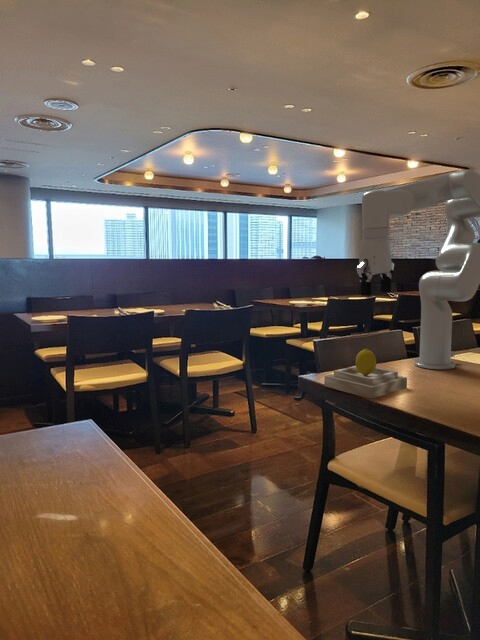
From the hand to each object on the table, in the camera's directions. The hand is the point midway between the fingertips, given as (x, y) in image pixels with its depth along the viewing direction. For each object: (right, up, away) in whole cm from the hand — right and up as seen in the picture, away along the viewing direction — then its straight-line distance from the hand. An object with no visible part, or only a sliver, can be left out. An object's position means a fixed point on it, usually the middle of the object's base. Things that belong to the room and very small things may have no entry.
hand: (376, 294), depth 135 cm
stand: (-5, -27, -6) cm, 28 cm away
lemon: (-5, -24, -7) cm, 25 cm away
